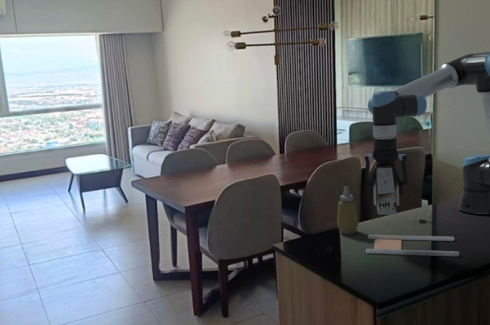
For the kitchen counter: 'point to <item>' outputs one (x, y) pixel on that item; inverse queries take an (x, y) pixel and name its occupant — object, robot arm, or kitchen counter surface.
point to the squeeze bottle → (347, 213)
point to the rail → (412, 252)
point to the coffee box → (386, 190)
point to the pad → (387, 244)
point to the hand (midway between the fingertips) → (386, 204)
